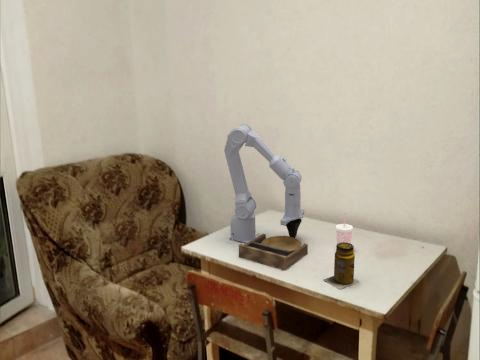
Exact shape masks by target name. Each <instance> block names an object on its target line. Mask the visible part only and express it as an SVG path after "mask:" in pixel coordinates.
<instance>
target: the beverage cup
mask: <svg viewBox="0 0 480 360" xmlns="http://www.w3.org/2000/svg"><path fill="white" fill-rule="evenodd" d="M335 230H336V233H335V234H336V245H337V244H338V243H342V242H346V243H350V244H352V235H353V230H354V226H353V225H351V224H348V223H346V213H343V223H338V224H336V225H335Z"/></svg>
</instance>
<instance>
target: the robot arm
mask: <svg viewBox="0 0 480 360" xmlns="http://www.w3.org/2000/svg"><path fill="white" fill-rule="evenodd" d="M243 146H245V147H249V148H254V149H255V150H256V151H257V152H258V153H259V155H261V156H263V158H264V159H265V160H267V161H268V163H269V168H270V169H271V170H272V171H273V172H274V173H275V174H276V176H278V178H280V179H281V180H282V181H283V185H284V188H285V189H284V190H285V192H284V214H283V217H282V218H281V219H280V222H279V223H280V226H283V227H284V226H285V227H286V229H287V233H288V235H289V237H294V238H296V239H297V234H298V230H299V227H300V225H301V223H302V219H303V218H304V215H305V209H302V208H301V198H302V197H301V183H302V175H301V173H300V171H299V170H297V169H296V168H295V167H292V166H291V165H290V164H289V163H288V162H287V159H286V157H282V155H276V154H275V153H274V152H273V150H271V148H269V145H267V144H266V143H265V142H264V140H263V139H262V138H261V137H260V136H259V135H258V133H257V131H255V130H254V129H252V128H251V126H250V125H249V124H243V123H242V124H240V125H239V126H237V127H234V128H233V129H231V131H230V132H229V133H228V135H227V140H226V143H225V146H224V148H223V149H224V155H225V160H226V164H227V166H228V170H229V174H230V178H231V182H232V188H233V190H234V194H235V197H234V205H235V207H234V215H233V216H232V217H231V218H230V222H229V223H230V237H229V239H230V240H234V241H237V242H242V243H245V244H246V243H248V242H249V241H251V240H253V239H255V238H256V237H258V236H260V235H258V234H256V214H255V210H256V209H257V202H256V200H255V199H254V197H253V196H252V192H250V191H249V188H248V187H249V186H248V182H247V179H246V175H245V171H244V166H243V163H242V159H241V155H240V150H241V149H242V147H243Z"/></svg>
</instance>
